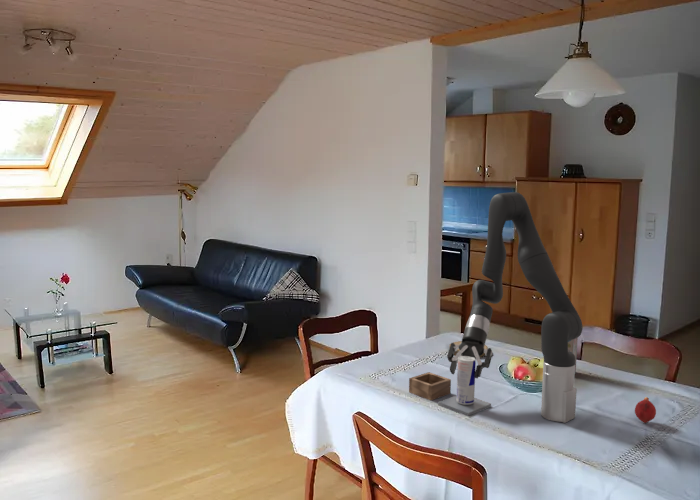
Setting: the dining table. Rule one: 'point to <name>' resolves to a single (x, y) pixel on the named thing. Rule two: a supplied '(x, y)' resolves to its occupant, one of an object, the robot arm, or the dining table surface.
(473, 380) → the beverage can
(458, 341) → the round wood slice
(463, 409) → the slate coaster
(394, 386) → the dining table surface
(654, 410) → the onion
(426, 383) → the walnut holder
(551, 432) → the dining table surface
